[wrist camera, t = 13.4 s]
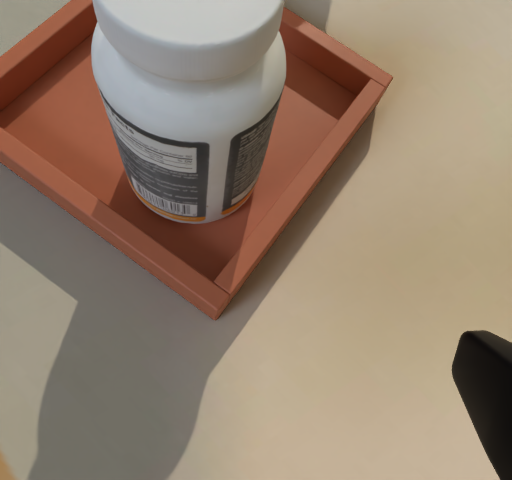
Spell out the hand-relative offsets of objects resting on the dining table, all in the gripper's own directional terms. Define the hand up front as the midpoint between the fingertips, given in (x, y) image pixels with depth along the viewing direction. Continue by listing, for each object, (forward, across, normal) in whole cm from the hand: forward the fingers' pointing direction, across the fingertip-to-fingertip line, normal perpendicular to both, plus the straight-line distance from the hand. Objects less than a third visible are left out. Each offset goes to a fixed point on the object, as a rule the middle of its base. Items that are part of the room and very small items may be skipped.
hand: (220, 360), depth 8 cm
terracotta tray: (+16, +1, -1) cm, 16 cm away
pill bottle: (+13, 0, +1) cm, 13 cm away
